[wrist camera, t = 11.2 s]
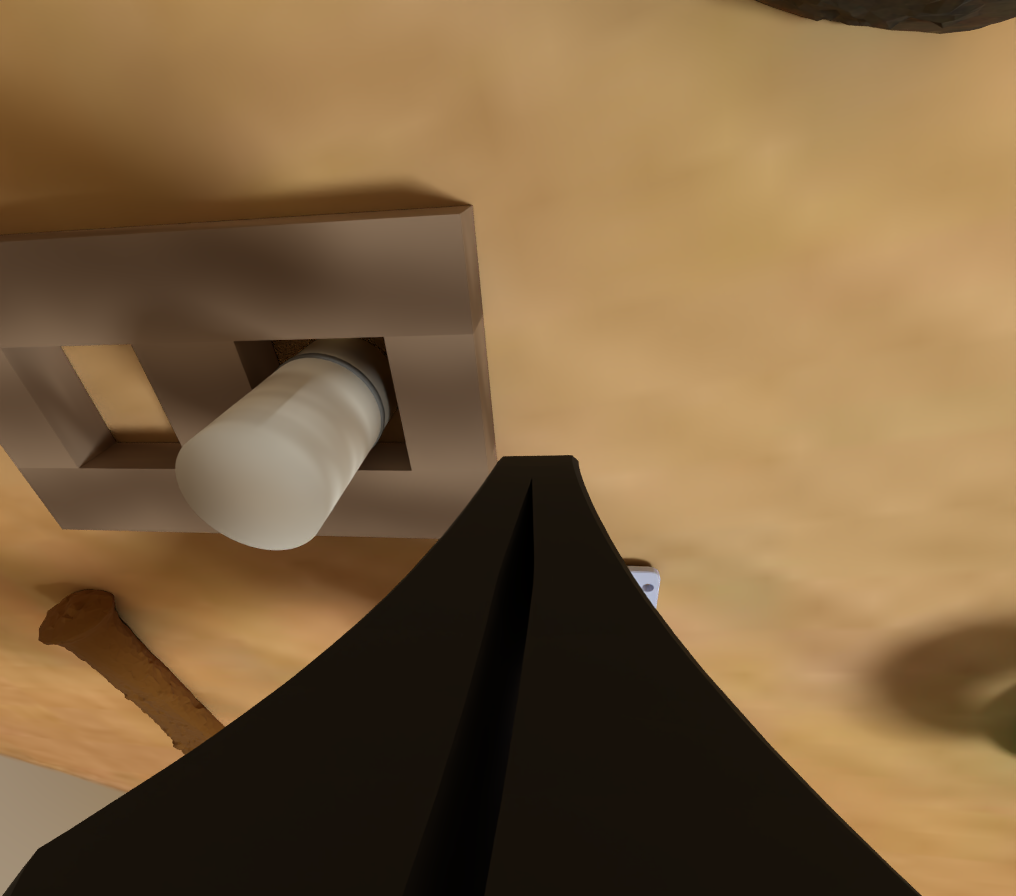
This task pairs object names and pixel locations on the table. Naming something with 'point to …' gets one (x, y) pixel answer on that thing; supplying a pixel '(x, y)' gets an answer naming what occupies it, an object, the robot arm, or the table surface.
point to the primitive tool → (128, 665)
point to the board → (246, 355)
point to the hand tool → (904, 13)
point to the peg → (289, 445)
